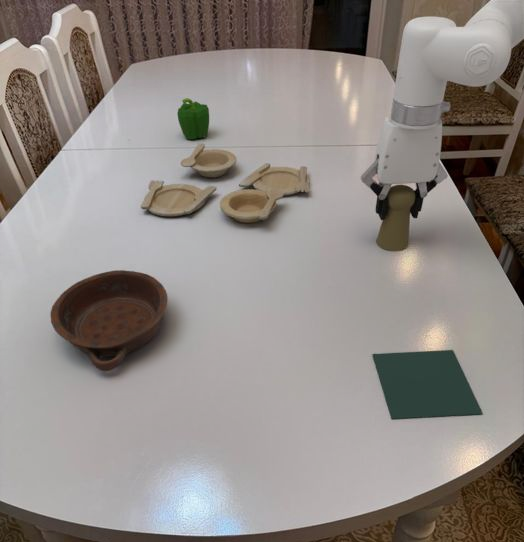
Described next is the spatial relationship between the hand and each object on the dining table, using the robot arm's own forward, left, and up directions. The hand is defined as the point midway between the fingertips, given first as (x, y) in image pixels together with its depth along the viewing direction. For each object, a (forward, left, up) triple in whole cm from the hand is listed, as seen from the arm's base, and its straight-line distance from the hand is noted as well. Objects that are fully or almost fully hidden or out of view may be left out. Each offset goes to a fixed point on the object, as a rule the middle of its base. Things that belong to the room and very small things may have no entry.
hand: (397, 214), depth 91 cm
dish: (+49, +21, -6) cm, 54 cm away
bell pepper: (+40, -57, -6) cm, 70 cm away
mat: (+4, +36, -6) cm, 37 cm away
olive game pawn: (0, 0, -6) cm, 6 cm away
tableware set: (+31, -23, -6) cm, 39 cm away
